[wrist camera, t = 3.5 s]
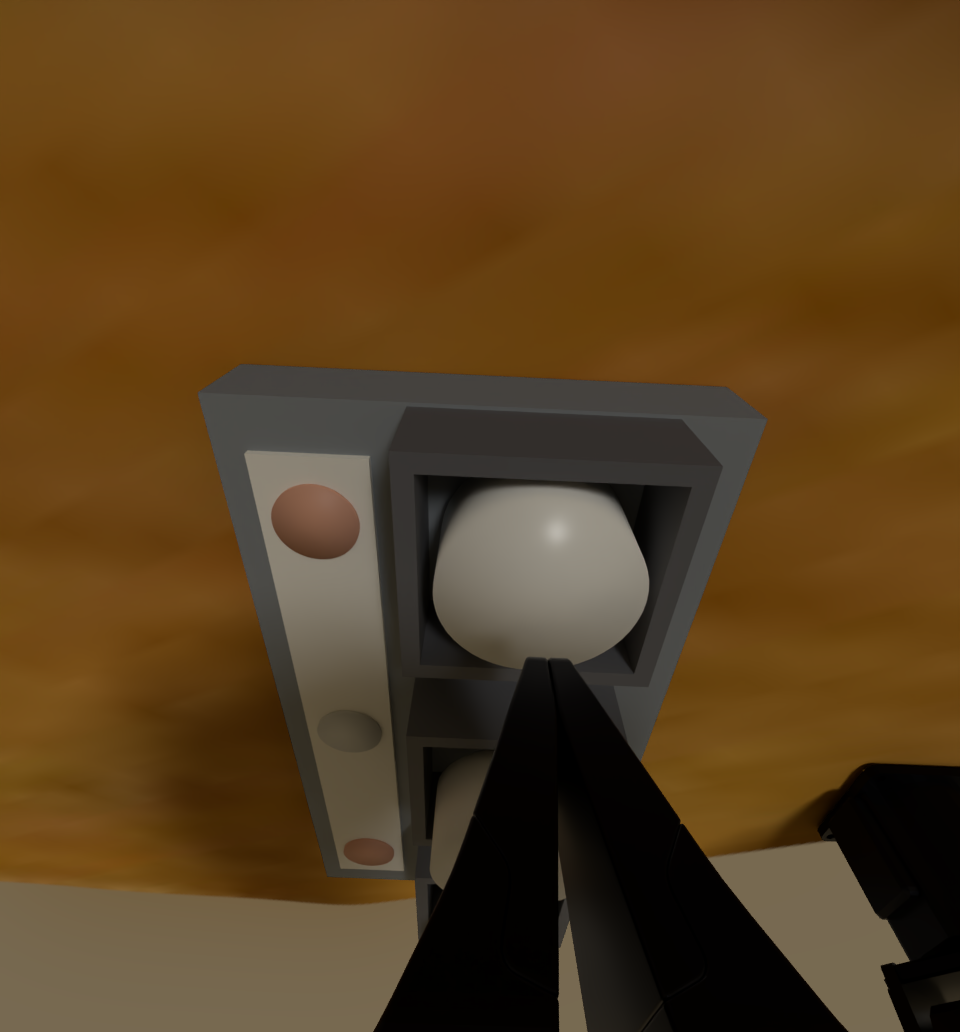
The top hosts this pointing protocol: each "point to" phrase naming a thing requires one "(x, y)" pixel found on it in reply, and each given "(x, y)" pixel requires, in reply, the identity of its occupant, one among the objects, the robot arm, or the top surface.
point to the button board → (412, 561)
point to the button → (537, 570)
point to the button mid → (460, 813)
